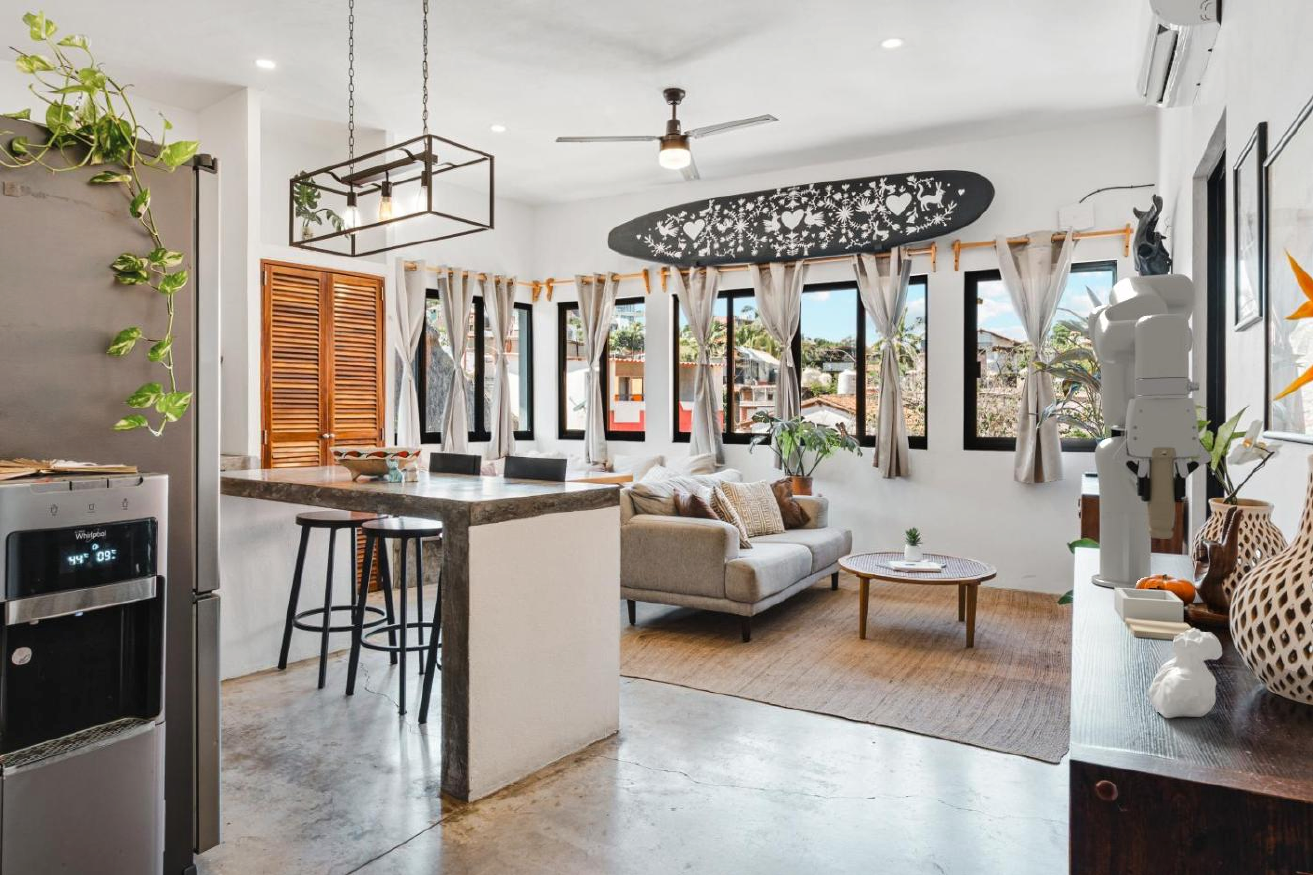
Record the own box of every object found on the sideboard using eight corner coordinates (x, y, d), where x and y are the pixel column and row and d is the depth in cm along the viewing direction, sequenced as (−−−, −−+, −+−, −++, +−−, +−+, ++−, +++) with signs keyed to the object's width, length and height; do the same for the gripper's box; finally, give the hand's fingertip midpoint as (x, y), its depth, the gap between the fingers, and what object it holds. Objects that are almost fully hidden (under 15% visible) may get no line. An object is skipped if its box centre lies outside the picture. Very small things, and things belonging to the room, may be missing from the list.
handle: (1187, 540, 131) (1187, 447, 130) (1141, 539, 133) (1141, 447, 133) (1180, 536, 135) (1180, 446, 135) (1136, 535, 137) (1136, 446, 137)
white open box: (1114, 608, 151) (1114, 587, 151) (1170, 612, 148) (1170, 590, 148) (1123, 621, 142) (1123, 598, 142) (1183, 625, 139) (1183, 602, 139)
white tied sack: (1184, 747, 93) (1259, 680, 89) (1123, 697, 96) (1194, 630, 92) (1185, 715, 103) (1253, 653, 99) (1130, 671, 106) (1194, 609, 102)
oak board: (1125, 623, 140) (1125, 618, 140) (1186, 628, 137) (1186, 622, 137) (1134, 636, 132) (1134, 630, 132) (1199, 641, 128) (1199, 635, 128)
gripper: (1215, 389, 134) (1214, 500, 134) (1100, 392, 140) (1100, 498, 141) (1228, 388, 127) (1227, 505, 127) (1107, 390, 133) (1107, 502, 134)
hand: (1161, 500), depth 134 cm, fingers closed on handle, 3 cm apart
